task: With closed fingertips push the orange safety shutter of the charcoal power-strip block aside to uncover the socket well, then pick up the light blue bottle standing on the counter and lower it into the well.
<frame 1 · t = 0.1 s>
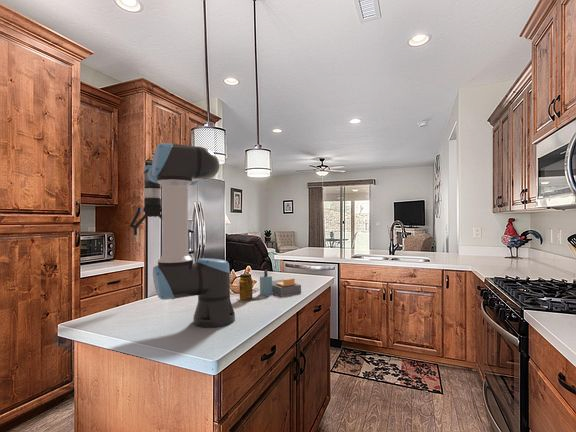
hand: (153, 241, 152), 28 cm above the countertop, fingers open, 13 cm apart
light blue bottle: (266, 294, 158), on the countertop
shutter: (285, 281, 161), point 6 cm above the countertop, slide at 0.0 cm
condiment: (247, 299, 148), on the countertop
socket block: (281, 291, 164), on the countertop
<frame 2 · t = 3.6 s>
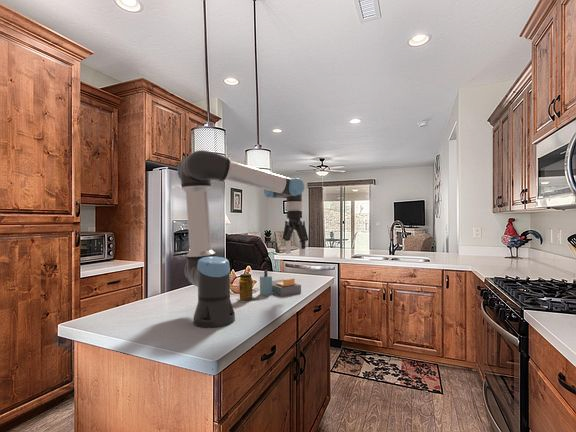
hand: (295, 254, 154), 20 cm above the countertop, fingers open, 12 cm apart
nothing on the countertop moved.
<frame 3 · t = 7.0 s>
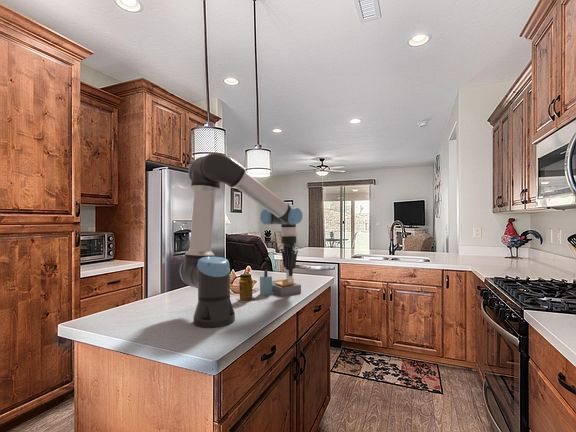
hand: (289, 282, 158), 6 cm above the countertop, fingers closed
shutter: (284, 280, 162), point 6 cm above the countertop, slide at 0.9 cm, touching gripper
everything else where it was.
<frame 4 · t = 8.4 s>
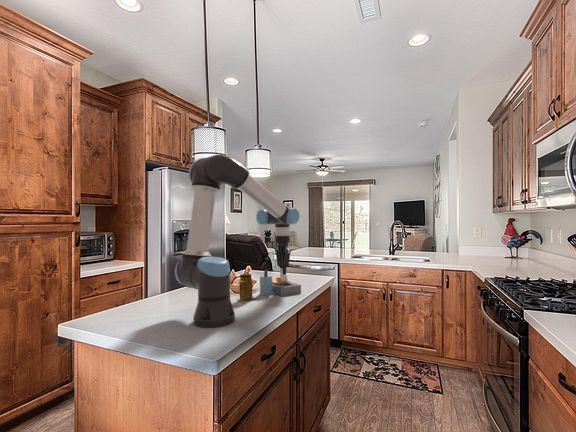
hand: (283, 280, 163), 6 cm above the countertop, fingers closed
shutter: (278, 279, 167), point 6 cm above the countertop, slide at 7.1 cm, touching gripper
everything else where it was.
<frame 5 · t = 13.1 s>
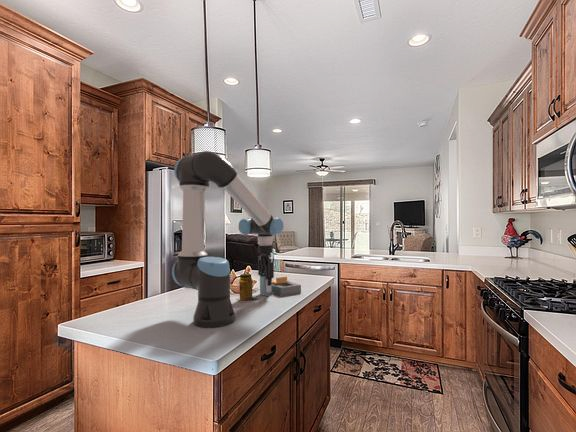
hand: (266, 290, 158), 2 cm above the countertop, fingers closed on light blue bottle, 4 cm apart
light blue bottle: (266, 294, 158), on the countertop, touching gripper
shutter: (278, 279, 167), point 6 cm above the countertop, slide at 7.2 cm
everything else where it was.
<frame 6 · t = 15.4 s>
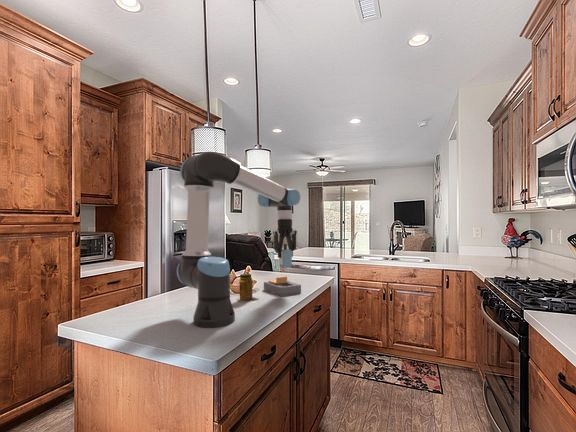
hand: (285, 263, 161), 15 cm above the countertop, fingers closed on light blue bottle, 4 cm apart
light blue bottle: (285, 267, 161), point 13 cm above the countertop, touching gripper
everything else where it was.
when the fingers open (5 cm above the countertop, at t = 17.7 s): light blue bottle drops 2 cm, resting on socket block.
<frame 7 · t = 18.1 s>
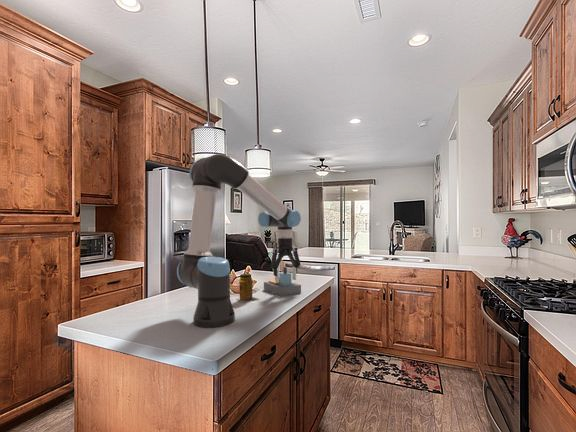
hand: (285, 280, 161), 6 cm above the countertop, fingers open, 10 cm apart
light blue bottle: (285, 290, 161), point 1 cm above the countertop, touching socket block
everything else where it was.
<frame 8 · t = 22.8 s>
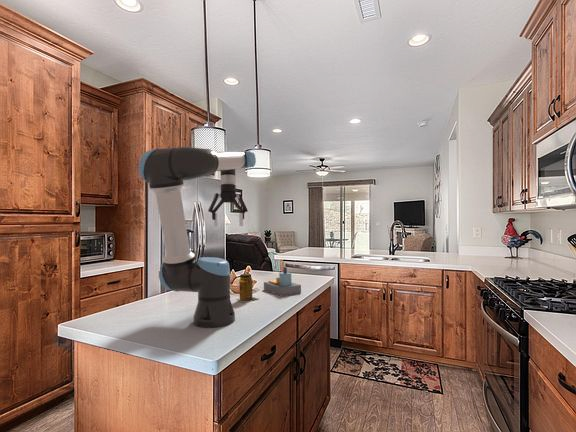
hand: (228, 226, 158), 35 cm above the countertop, fingers open, 13 cm apart
nothing on the countertop moved.
at the end: light blue bottle 0.2 cm from the target spot on the socket block, point 1.0 cm above the socket block's base; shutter slide at 7.2 cm; light blue bottle tilted 0° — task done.
